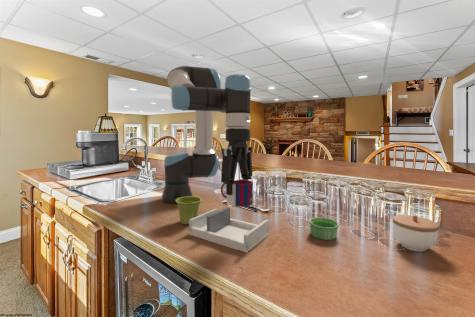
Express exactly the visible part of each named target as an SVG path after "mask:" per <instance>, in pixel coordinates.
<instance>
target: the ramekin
mask: <svg viewBox="0 0 475 317" xmlns="http://www.w3.org/2000/svg"><path fill="white" fill-rule="evenodd" d="M309 226H310V227H309V228H310V229H309V230H310V234H311V236H313V237H314V238H316V239H320V240H323V241H324V240H325V241H330V240H335V239H336V238H337V237H338V236H337V235H338V229H339V226H340V225H339V222H337V220H334V219H332V218H329V217H320V216H319V217H312V218H310V219H309Z"/></svg>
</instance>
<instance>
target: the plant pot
mask: <svg viewBox="0 0 475 317" xmlns="http://www.w3.org/2000/svg"><path fill="white" fill-rule="evenodd" d="M202 200H203V199H202V198H201V197H199V196H188V197H181V198H178V199H176V202H177V203H176V204H177V208H178V214H179V220H180V224H183V225H189V220H190V219H192V218H194V217H197V216H199V210H200V205H201V202H202Z"/></svg>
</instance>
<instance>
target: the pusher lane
mask: <svg viewBox="0 0 475 317" xmlns="http://www.w3.org/2000/svg"><path fill="white" fill-rule="evenodd" d="M218 211H219V210H218V208H213V209H210V210H208V211H206V212H204V213H202V214H200V215H199V214H198V216H197V217H194V218H192V219H190V220H189V224H188V234H189V235H190V236H193V237H196V238H198V239H203V240H205V241H209V242H211V243H215V244H217V245H221V246H225V247H227V248H230V249H233V250H237V251H239V250H240V252H242V251H243V252H242V253H245V252H246V254H247V253H249V252H250V251H251V250H252V249H254V248H255V246H257V245H258V244H260V242H262V241H263V240H265V238H267V237H268V236H269V232H270V231H269V228H270V220H269V219H265V220H263V221H262V222H260V223H259V224H256V223H251V222H247V221H243V220H239V219H235V218H231V217H230V224H228V225H226V226H224V227H223V228H221V229H219V230H217V231H215V232H214V233H213V232H210V231H207V216H209V215H211V214H213V213H215V212H218ZM249 250H250V251H249ZM248 251H249V252H248Z"/></svg>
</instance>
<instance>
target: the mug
mask: <svg viewBox="0 0 475 317" xmlns="http://www.w3.org/2000/svg"><path fill="white" fill-rule="evenodd" d="M234 184H236V205H235V207H249V206H252V205H253V202H254V200H253V199H254V197H253V196H254V188H253V187H254V182H253V181H252V180H250V179H248V180H240V179H236V180H235V179H234ZM225 185H226V183H223V184H221V186H220V193H221V195H222V197H223V198H224V199H226V200H227V195H225V194H224V191H223V187H224V186H225Z"/></svg>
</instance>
